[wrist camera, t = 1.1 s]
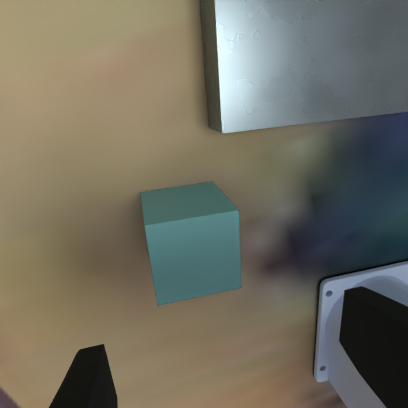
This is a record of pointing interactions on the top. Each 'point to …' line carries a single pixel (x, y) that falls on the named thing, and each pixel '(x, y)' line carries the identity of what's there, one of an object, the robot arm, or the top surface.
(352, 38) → the base block
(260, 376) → the top surface
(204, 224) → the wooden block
